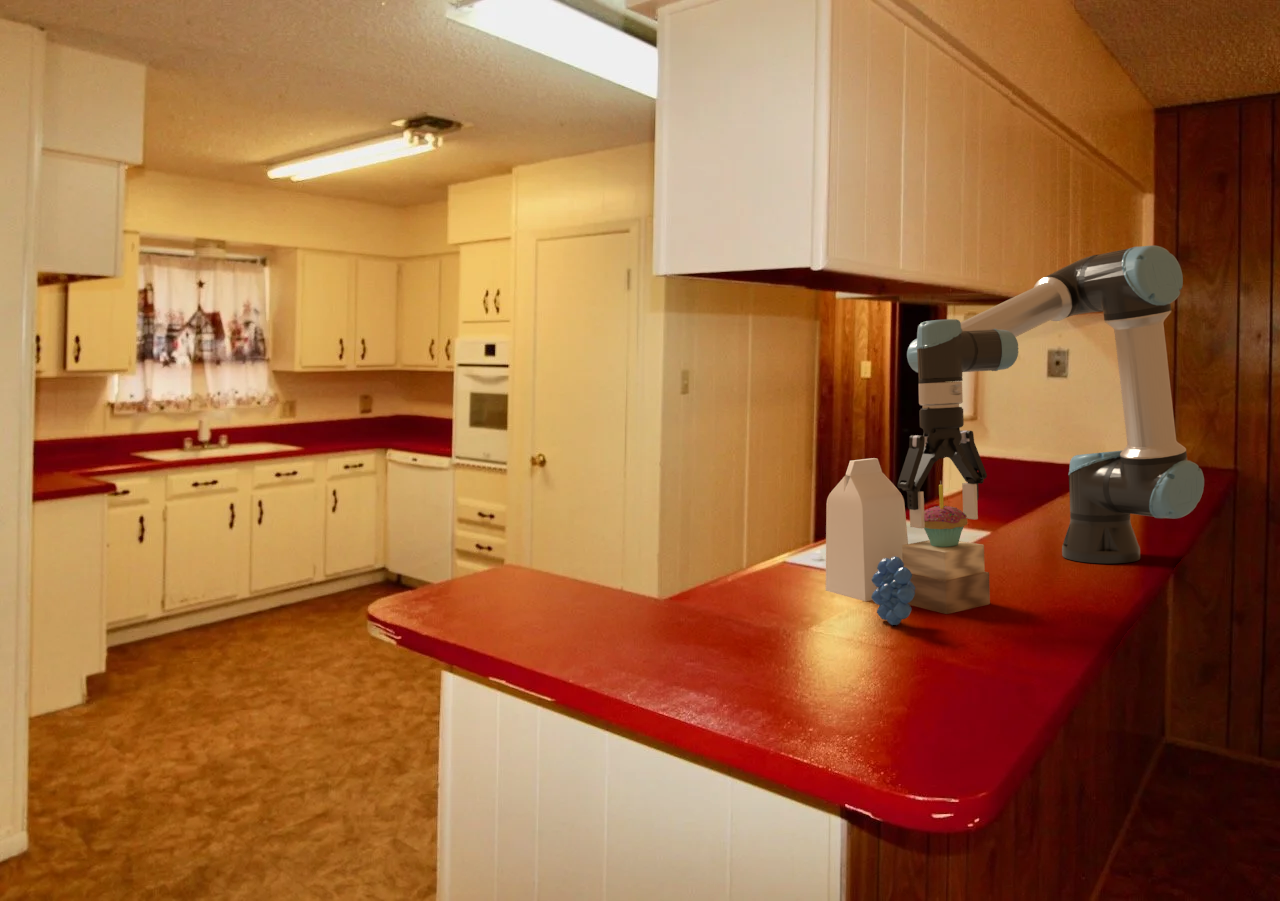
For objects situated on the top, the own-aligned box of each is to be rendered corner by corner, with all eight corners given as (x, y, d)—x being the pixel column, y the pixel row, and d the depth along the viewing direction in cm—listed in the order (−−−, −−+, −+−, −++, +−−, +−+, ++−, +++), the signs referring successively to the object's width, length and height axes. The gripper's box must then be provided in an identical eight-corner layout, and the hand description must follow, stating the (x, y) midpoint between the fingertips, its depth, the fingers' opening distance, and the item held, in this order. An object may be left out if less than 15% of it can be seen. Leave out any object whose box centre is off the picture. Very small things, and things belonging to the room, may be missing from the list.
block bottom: (942, 594, 170) (941, 563, 169) (989, 605, 160) (989, 572, 160) (900, 603, 164) (899, 571, 164) (946, 615, 155) (945, 581, 154)
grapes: (935, 631, 145) (933, 558, 144) (898, 635, 143) (896, 562, 143) (898, 614, 156) (896, 547, 155) (863, 618, 155) (861, 550, 154)
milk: (865, 601, 167) (860, 463, 165) (825, 590, 177) (820, 460, 175) (912, 591, 172) (908, 458, 170) (871, 581, 182) (867, 455, 180)
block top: (941, 564, 169) (940, 538, 168) (984, 572, 160) (983, 544, 160) (903, 571, 164) (902, 545, 163) (945, 580, 155) (944, 552, 155)
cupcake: (971, 548, 156) (967, 480, 155) (920, 550, 158) (916, 483, 158) (965, 539, 165) (962, 475, 164) (918, 540, 167) (914, 477, 166)
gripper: (905, 410, 151) (909, 533, 152) (1005, 402, 162) (1008, 517, 164) (874, 410, 157) (878, 529, 159) (972, 402, 169) (975, 513, 171)
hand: (944, 523), depth 161 cm, fingers open, 13 cm apart
